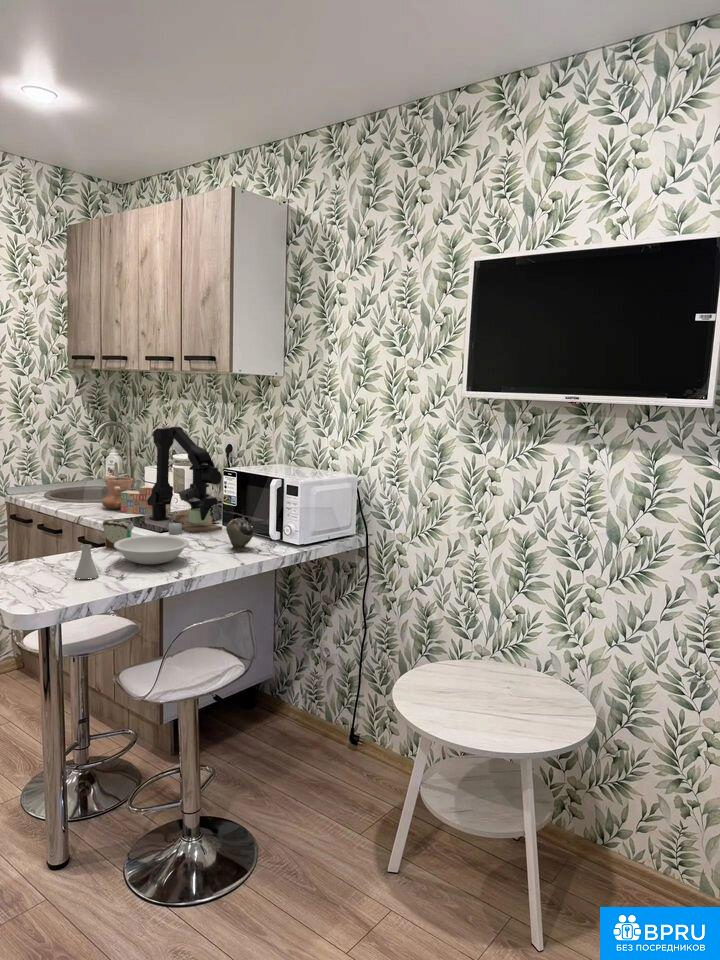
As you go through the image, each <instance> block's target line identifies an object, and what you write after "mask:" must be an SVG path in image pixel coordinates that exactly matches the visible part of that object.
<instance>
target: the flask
mask: <svg viewBox="0 0 720 960" xmlns="http://www.w3.org/2000/svg"><path fill="white" fill-rule="evenodd" d="M92 547H93V546H92V544H87V543H86V544H82V545H81V544H80V548H81V555H80V559H79V562H78V565H77V567H76V570H75V573H74V576H75V578H78V579H77V580H79V578H80V579H88V578H89V579H90V578H95V577H97V576H99V573H98V570H97V568H96V566H95V563H94V559H93V557H92V551H91V549H92ZM97 578H98V577H97ZM95 579H96V578H95ZM90 580H91V579H90Z"/></svg>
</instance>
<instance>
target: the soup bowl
mask: <svg viewBox="0 0 720 960" xmlns="http://www.w3.org/2000/svg"><path fill="white" fill-rule="evenodd" d="M189 545H190V541H189V540H188V539H186V538H183V537H180V536H176V535H163V534H161V535H160V534H155V535H154V534H152V535H137V536H136V535H135V536H131V537H130V538H125V539H122V540H119V541H117V542H115V544H114V547H115V548H116V549H118V550H120V551H119V552H120V554H121V555H122V556H123V557H124V558H126V560H129V561H130V562H132V563H136V564H140V565H160V564H164V563H168V562H171V561H173V560H175V559H176V558H177V557H179V555H180V554H182V552H183V550H184V549H185V548H187V547H188V546H189ZM118 550H117V551H118Z"/></svg>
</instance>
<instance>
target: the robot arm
mask: <svg viewBox="0 0 720 960" xmlns="http://www.w3.org/2000/svg"><path fill="white" fill-rule="evenodd" d="M152 437H153V438H152V439H153V444H154V445H155V447H156V450H157V451H156V479H155V480H156V481H155V483H154V485H152V486H153V488H152V494H151V496H150V497H149V498H148V500H147V503H148V505H150V506H152V515H151V516H149V517H148V519H151V520H154V521H162V520H169V519H170V517H168V516H167V515H166V505H168V504H172V499H173V496H174V487H173V486H171V484H170V483H169V473H170V472H169V471H170V450H171V447H172V446H173V444H174V441H175V442H177V444H178V445H179V446H181V448H182V449H183V450H184V451H185V452H186V454H187V460H189V462H190V464H191V466H190V467H189V470H191V471H192V483H190V484H189V487H188V488H186V489H184V490H182V491H179V492H178V496H179V498H180V501H182V502H183V501H184V502H186V503H187V504H189V505H190V508H191V509H198V508H200V512H201V520H204V519H205V517H206V515H207V514H208V512H209V510H210V511H211V508H212V506H216V505H218V504H219V502H218V501H219V499H217V498H216V497H214V496H210V495H209V493H207V492H208V488H209V487H210V485H215V486H217V485H219V484H220V483H221V481H222V479H223V475H222V474H221V472H220V471H219V468H218V467H216V466H215V464H214V462H213V460H212V458H211V455H210V452H208V451H207V450H206V449H205V448H203V447H201V446H198V445H197V444H196V443H195V442H194V441H193V440H192V439H191V437H190V436H189V435H188V434H186V432H185V431H184V429H183V428H182V427H181V426H170V427H164V428H161V427H159V428H158V427H157V428H156V429H154V430H153V433H152Z"/></svg>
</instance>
